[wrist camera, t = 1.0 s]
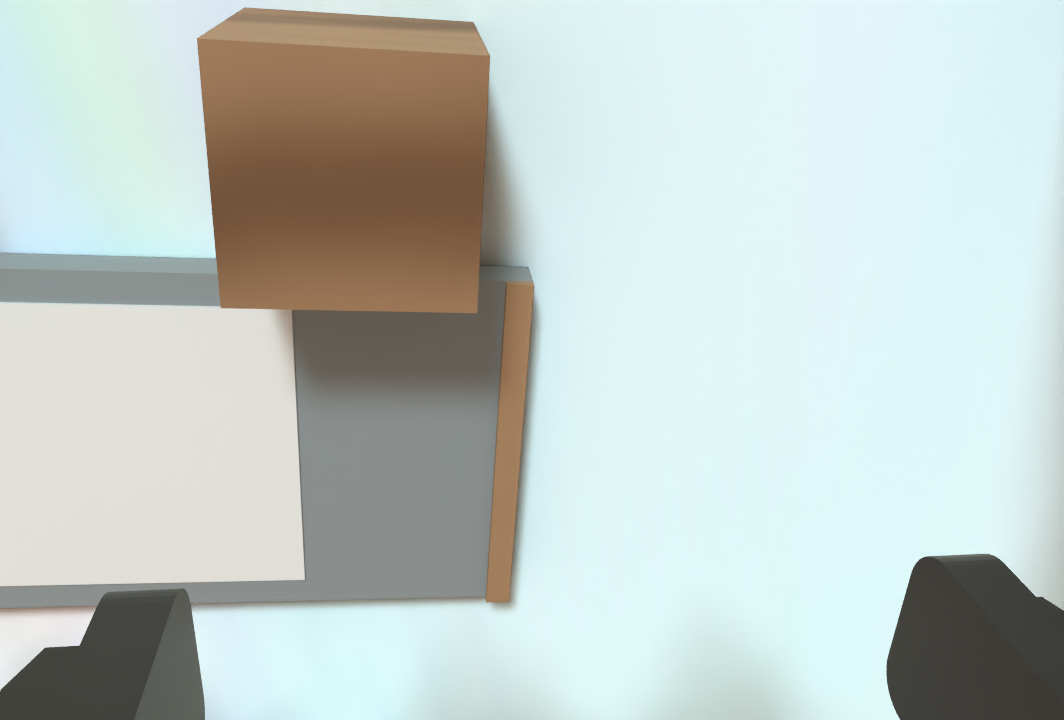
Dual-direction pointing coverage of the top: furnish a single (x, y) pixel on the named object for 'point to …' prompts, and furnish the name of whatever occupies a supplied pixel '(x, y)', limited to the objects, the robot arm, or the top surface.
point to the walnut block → (345, 160)
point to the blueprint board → (252, 439)
